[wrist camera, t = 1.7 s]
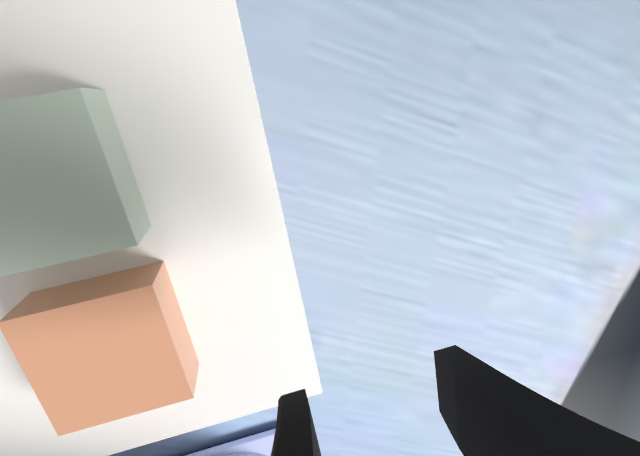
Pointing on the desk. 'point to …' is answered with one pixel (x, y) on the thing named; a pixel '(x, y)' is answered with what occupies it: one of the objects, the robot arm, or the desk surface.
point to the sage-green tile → (64, 181)
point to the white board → (168, 207)
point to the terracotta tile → (104, 347)
